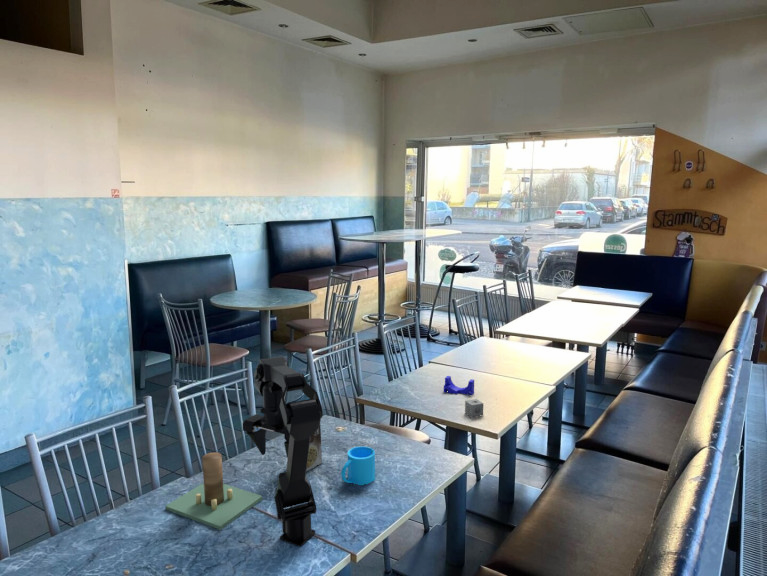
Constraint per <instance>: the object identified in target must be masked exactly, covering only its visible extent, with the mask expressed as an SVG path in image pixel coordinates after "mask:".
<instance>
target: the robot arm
mask: <svg viewBox="0 0 767 576" xmlns="http://www.w3.org/2000/svg"><path fill="white" fill-rule="evenodd" d="M253 379H254V383H253V384H254V387H255V389H256V390H257V391H258V392H259V394H260V396H262V403H263V407H261V408H260V413H261V414H263V415H260V414H255V413H254V414H253V415H252V416H250V417H248V418H246V419H244V420H243V422H242V431H243V432H246V434H247V436H249V437H250V439H251V440H252V442H253V443H254V444H255V446H256V448H257V450H258V451H259V453H260V454H261V455H262V456H264V455H266V450H267V448H266V447H267V445H266V443H267V442H266V434H267V431H269V432H275V433H277V434H278V433H279V434H282V435H284V440H285V441H284V442H283V444H284V449H285V453H286V454H285V455H286V458H287V460H286V471H283V472H280V473H279V474H278V476H277V477H278V479H277V487H276V490H275V494H274V497H273V499H274V504H275V508H276V517H277V520H280V521H281V527H282V534H281V535H280V536H279V540H281V541H283V542H285V543H289V544H292V545H295V546H298V547H302V546H303V545H304V544H305V543H306V542H307V541H309V539H310V538H312V537H313V536H314V535H315V534H316V530H315V529H312V515H313V514H314V515H315V514H317V505H316V501H315V496H314V493H313V489H312V488H313V487H312V485H311V483H310V481H309V479H308V478H307V477H308V476H307V472H306V469H307V461H308V453H309V445H310V437H311V436H312V434H313V433H314V432H315V431H316V430H317V429H318V428H319V425H320V426H321V420H322V418H323V416H324V415H323V414H324V413H323V412H324V411H323V406H322V404H321V400H320V398H319V397H320V396H319V394H318V392H317V390H315V389H314V388H313V387H312V386H311V385H310V384H309V383H308V382H307V380H306V377H305V374H304V373H303V372H300V371H299V372H298V371H296V370H294V369H292V368H291V367H290V366H289V363H288V360H287V359H286V358H285V357H284V356H277V357H276V356H275V357H270V358H261V359H259V363H257V364H256V368H255V369H254V374H253ZM300 390H301V392H302V393H303V394H304V395H306V397H307V398H308V399H303V400H297V401H292V402H288V403H286V395H287V392H293V391H300ZM286 426H287V427H286Z"/></svg>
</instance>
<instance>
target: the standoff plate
mask: <svg viewBox="0 0 767 576" xmlns="http://www.w3.org/2000/svg"><path fill="white" fill-rule="evenodd" d="M223 490H224V501H223V503H221V504H219V505H217V499H212V500H211V505H212V506H208V505H206V504H205V495H204V482H202V483H200V485H198V486H196V487H195V488H193V489H192V490H190V491H187V493H184V494H183V495H181V496H179V497H178V498H176V499H175V500H173V501H171V502H170V503H168V504H166V505H165V507H164V508H165V510H166V511H169V512H172V513H174V514H177V515H180V516H182V517H185V518H188V519H190V520H193V521H195V522H198V523H200V524H204V525H206V526H209V527H211V528H213V529H217V530H219V531H221V530H223V529H224V528H225V527H227V526H228V525H229V524H231V523H232V522H233V521H235V520H236V519H237V518H239V517H241V515H244V513H246V512H247V511H249V510H250V509H252V507H254V506H255V505H257V504H258V503H260V502H261V501H263V495H260V494H258V493H254V492H251V491H248V490H245V489H241V488H239V487H235V486H232V485H230V484H227V483H223Z"/></svg>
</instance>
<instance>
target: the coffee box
mask: <svg viewBox="0 0 767 576" xmlns="http://www.w3.org/2000/svg"><path fill="white" fill-rule="evenodd" d="M286 427H287V426H286ZM321 429H322V428H321V424H320V425H319V428H318V429H317V430H316V431H315V432H314V433H313V434H312V436H311V437H310V445H309V453H308V461H307V469H306V473H307V472H308V471H310V470H312V469H313V468H316V467H317V465H318V466H319V465H321V464H323V457H322V456H323V455H322V454H323V451H322V434H321V433H322V431H321Z"/></svg>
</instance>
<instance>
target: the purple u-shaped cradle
mask: <svg viewBox="0 0 767 576" xmlns="http://www.w3.org/2000/svg"><path fill="white" fill-rule="evenodd" d="M447 391H448V394H453V393H454V394H453V395H458V394H462V395H468V396H469V395H470V396H474V394H475V379H469V380H468V384H467V386H466V387H460V386H456V385H455V384H454V382H453V381H452V376H450V375H447V376H445V377H444V385H443V393H447Z"/></svg>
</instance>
